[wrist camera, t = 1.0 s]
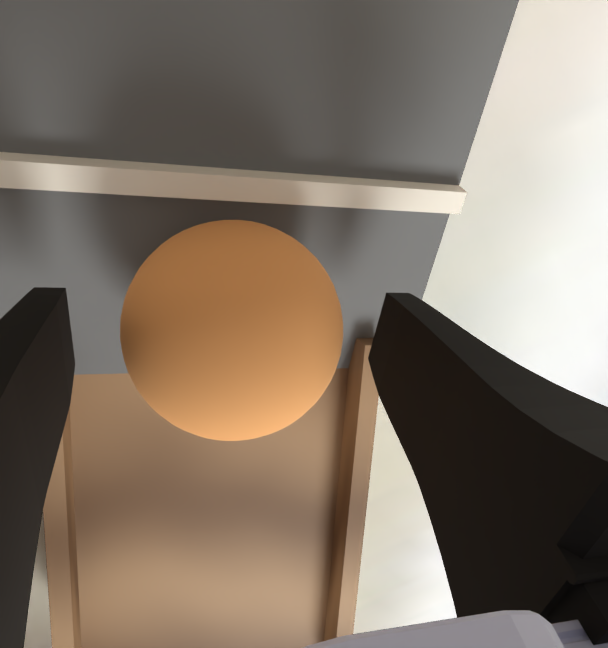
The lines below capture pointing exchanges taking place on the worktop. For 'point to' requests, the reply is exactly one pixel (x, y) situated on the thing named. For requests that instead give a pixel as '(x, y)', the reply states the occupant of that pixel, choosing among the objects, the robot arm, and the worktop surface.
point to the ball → (231, 330)
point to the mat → (234, 140)
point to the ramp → (207, 522)
